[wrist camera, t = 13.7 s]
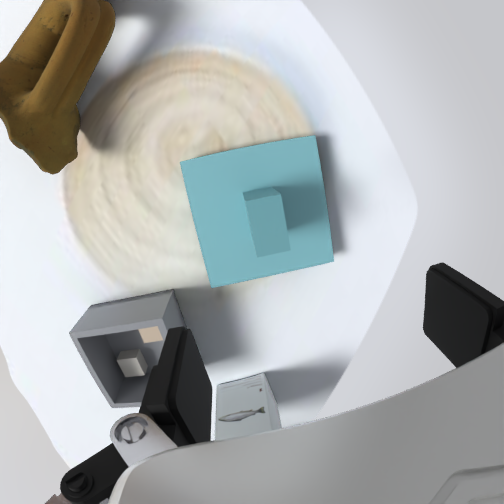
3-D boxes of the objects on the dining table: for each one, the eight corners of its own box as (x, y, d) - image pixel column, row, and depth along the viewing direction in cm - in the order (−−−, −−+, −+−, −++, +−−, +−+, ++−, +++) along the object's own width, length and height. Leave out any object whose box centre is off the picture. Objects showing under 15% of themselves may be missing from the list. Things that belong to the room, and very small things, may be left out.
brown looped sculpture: (-48, 112, 19) (29, -53, 11) (24, 111, 31) (96, -23, 23) (-10, 184, 18) (109, -63, 10) (87, 171, 30) (188, -3, 22)
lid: (327, 254, 36) (353, 282, 28) (212, 279, 36) (208, 314, 28) (309, 136, 32) (333, 131, 24) (183, 161, 32) (168, 163, 24)
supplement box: (264, 370, 41) (276, 440, 29) (277, 403, 43) (290, 468, 31) (214, 383, 41) (212, 452, 29) (232, 414, 43) (234, 479, 31)
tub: (200, 365, 40) (197, 401, 33) (124, 375, 40) (111, 407, 33) (173, 289, 36) (162, 318, 29) (90, 305, 36) (68, 333, 29)
